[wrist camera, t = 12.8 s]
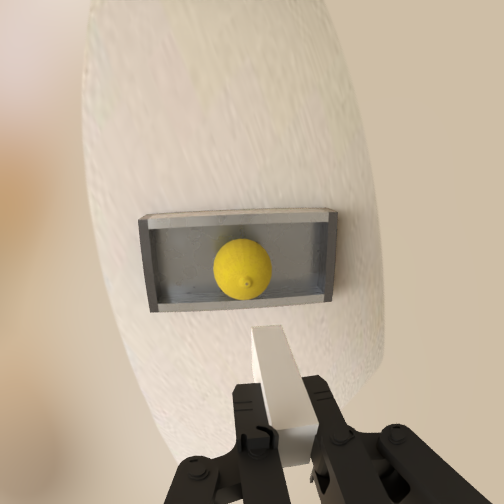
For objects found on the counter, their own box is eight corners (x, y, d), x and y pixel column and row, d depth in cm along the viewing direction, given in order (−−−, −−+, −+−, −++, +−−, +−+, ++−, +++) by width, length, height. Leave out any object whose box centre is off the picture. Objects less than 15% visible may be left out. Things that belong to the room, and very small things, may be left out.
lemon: (234, 289, 33) (239, 325, 25) (203, 251, 31) (199, 278, 23) (274, 260, 32) (291, 288, 25) (245, 220, 31) (254, 237, 23)
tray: (146, 214, 30) (138, 219, 27) (325, 207, 32) (337, 212, 29) (156, 299, 33) (150, 312, 30) (321, 289, 35) (331, 301, 32)
